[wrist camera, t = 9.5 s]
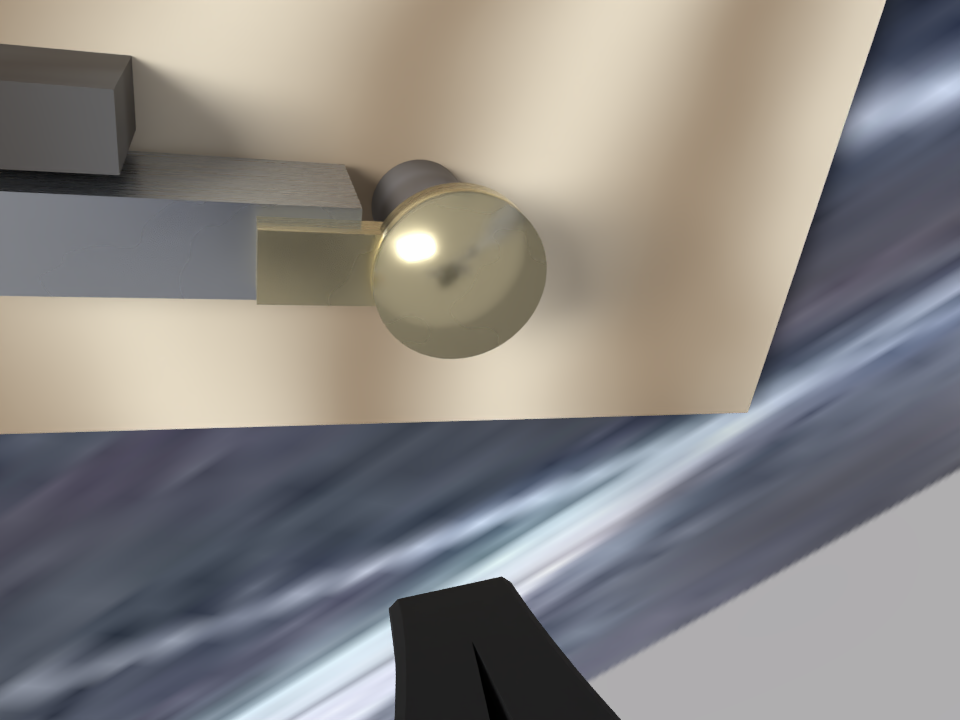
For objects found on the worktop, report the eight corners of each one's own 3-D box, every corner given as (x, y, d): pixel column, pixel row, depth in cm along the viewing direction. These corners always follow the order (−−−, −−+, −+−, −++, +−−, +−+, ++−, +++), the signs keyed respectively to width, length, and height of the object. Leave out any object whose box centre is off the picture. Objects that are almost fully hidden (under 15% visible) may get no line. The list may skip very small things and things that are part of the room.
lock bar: (501, 142, 16) (561, 199, 13) (481, 280, 17) (531, 358, 14) (-152, 94, 13) (-259, 154, 10) (-116, 265, 14) (-200, 362, 11)
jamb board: (921, -197, 16) (1083, -214, 13) (731, 396, 22) (810, 476, 19) (-235, -463, 10) (-416, -597, 7) (-60, 413, 16) (-122, 529, 14)
